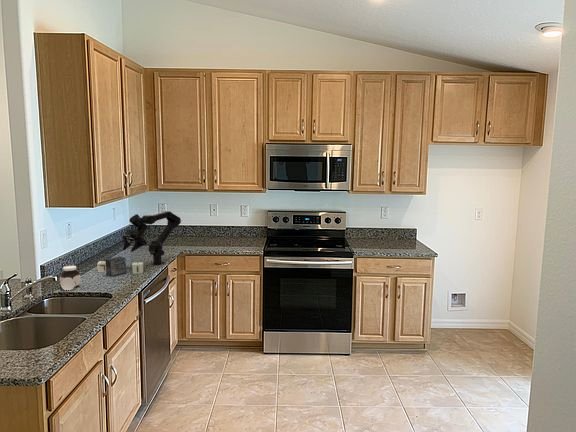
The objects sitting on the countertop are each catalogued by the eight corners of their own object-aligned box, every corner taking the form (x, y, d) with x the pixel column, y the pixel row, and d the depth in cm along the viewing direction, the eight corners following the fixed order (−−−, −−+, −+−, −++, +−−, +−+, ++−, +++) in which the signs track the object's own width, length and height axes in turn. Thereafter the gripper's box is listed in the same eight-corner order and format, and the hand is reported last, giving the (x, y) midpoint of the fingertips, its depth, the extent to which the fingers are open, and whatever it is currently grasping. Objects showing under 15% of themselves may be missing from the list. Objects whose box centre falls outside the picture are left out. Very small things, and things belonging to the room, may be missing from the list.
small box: (121, 271, 288) (120, 255, 287) (126, 273, 284) (125, 257, 283) (105, 275, 280) (104, 258, 279) (111, 276, 276) (110, 260, 275)
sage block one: (133, 271, 289) (133, 262, 289) (143, 271, 291) (143, 261, 290) (132, 274, 283) (132, 264, 282) (142, 273, 285) (142, 263, 284)
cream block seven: (99, 270, 292) (98, 261, 291) (109, 269, 293) (108, 260, 292) (97, 272, 286) (97, 263, 285) (107, 272, 287) (107, 262, 286)
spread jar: (76, 284, 260) (75, 264, 259) (85, 287, 253) (84, 267, 252) (55, 288, 251) (53, 268, 250) (64, 292, 244) (62, 271, 243)
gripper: (123, 223, 295) (109, 242, 287) (142, 225, 285) (129, 245, 278) (133, 232, 303) (120, 252, 295) (152, 235, 293) (140, 255, 285)
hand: (127, 250), depth 288 cm, fingers open, 7 cm apart
